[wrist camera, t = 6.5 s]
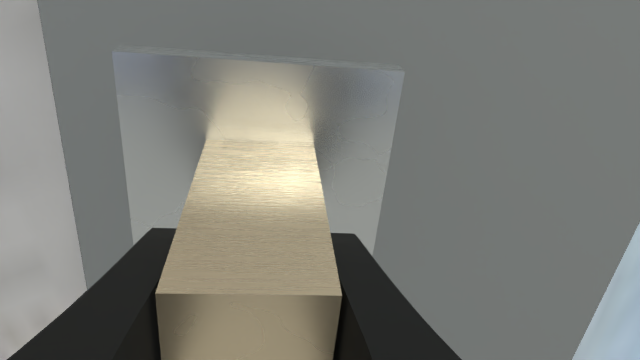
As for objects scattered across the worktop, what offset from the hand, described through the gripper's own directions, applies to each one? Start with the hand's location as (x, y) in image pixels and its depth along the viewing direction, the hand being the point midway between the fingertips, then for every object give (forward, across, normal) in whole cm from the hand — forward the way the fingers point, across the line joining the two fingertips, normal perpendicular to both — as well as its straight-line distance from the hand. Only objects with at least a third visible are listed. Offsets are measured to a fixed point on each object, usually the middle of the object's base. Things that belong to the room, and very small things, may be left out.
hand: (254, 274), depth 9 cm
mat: (+7, -4, +4) cm, 9 cm away
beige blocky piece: (+3, 0, 0) cm, 3 cm away
